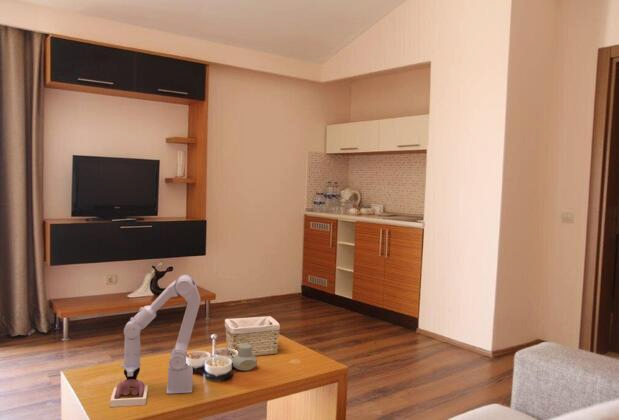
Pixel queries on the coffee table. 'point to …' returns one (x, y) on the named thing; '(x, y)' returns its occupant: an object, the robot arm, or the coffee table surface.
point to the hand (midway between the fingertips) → (131, 387)
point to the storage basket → (253, 334)
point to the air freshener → (244, 358)
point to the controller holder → (128, 399)
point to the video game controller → (128, 383)
